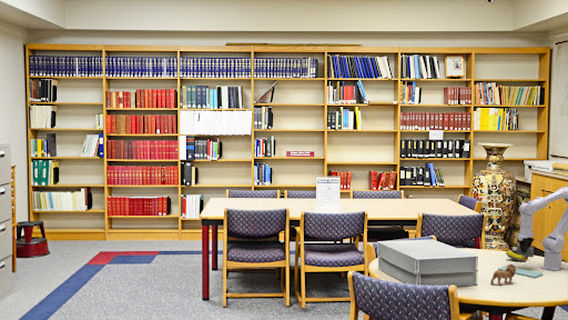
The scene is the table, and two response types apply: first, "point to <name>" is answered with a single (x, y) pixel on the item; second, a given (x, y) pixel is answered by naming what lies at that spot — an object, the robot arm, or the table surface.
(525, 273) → the desk mat
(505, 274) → the lion figurine
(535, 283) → the table surface
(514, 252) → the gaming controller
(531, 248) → the connector
